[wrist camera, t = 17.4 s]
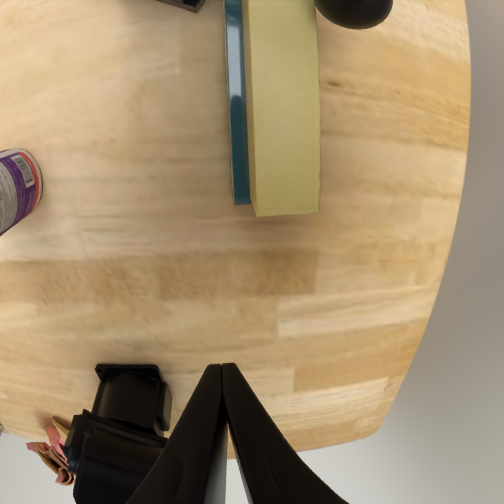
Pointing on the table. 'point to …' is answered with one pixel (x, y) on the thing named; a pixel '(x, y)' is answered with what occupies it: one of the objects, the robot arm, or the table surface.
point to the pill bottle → (17, 187)
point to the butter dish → (236, 101)
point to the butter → (282, 105)
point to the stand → (186, 4)
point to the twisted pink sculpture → (55, 453)
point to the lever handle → (355, 12)
